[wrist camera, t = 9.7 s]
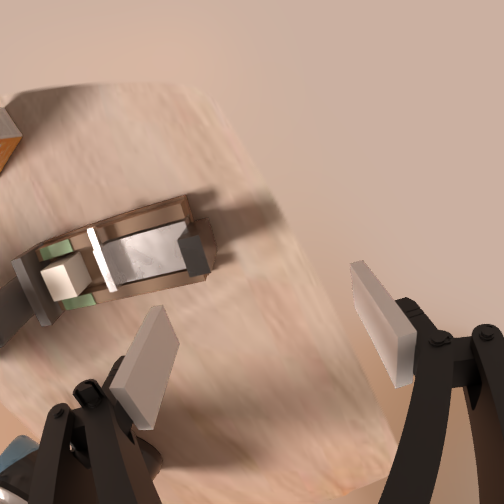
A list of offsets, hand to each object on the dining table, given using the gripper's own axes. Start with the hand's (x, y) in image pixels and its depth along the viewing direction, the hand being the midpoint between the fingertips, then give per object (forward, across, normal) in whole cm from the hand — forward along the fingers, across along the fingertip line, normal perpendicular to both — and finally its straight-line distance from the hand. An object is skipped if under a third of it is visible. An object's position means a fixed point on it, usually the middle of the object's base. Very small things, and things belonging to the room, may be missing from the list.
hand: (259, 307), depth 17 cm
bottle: (+18, -34, -2) cm, 38 cm away
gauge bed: (+18, -18, 0) cm, 25 cm away
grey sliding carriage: (+16, -11, +1) cm, 20 cm away
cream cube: (+17, -23, 0) cm, 29 cm away
